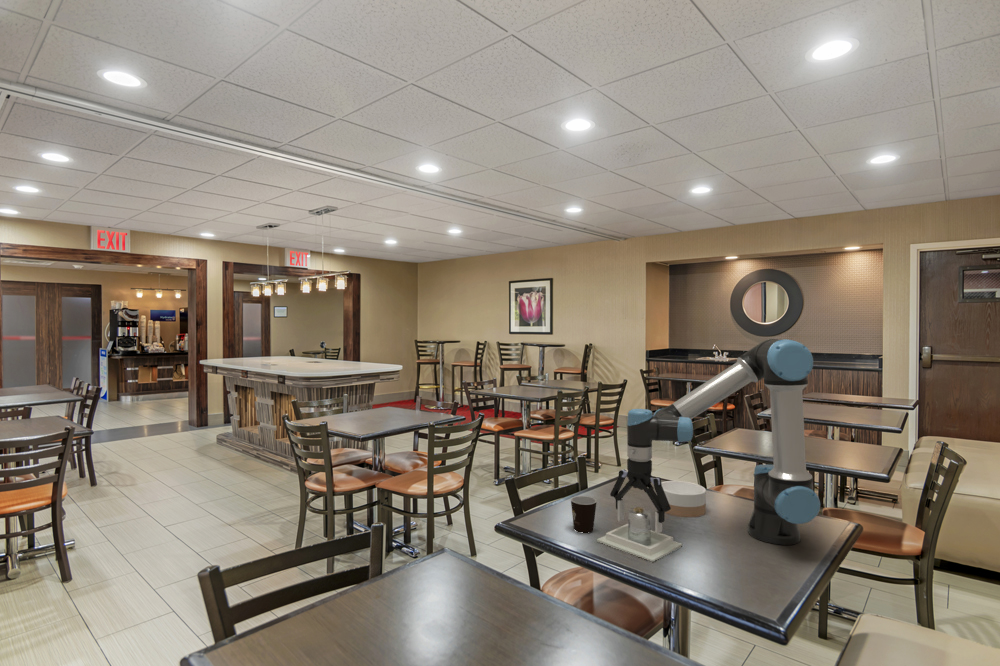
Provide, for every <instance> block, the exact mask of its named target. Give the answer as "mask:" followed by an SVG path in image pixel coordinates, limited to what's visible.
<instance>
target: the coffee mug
mask: <svg viewBox="0 0 1000 666" xmlns="http://www.w3.org/2000/svg"><path fill="white" fill-rule="evenodd" d="M570 506H571V513H572V522H573V530H574V529H575V530H576V531H578V532H583V533H582V534H589V533H588V532H591V533H593V532H594V526H595V518H596V510H597V499H596V498H594V497H591V496H587V495H578V496H573V497H571V498H570ZM575 530H574V531H575ZM576 531H575V532H576ZM592 531H593V532H592ZM578 532H577V533H578Z"/></svg>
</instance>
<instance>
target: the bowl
mask: <svg viewBox="0 0 1000 666" xmlns="http://www.w3.org/2000/svg"><path fill="white" fill-rule="evenodd" d="M661 484H662V487H663V490H664V492H665V495H666V497H667V500H668V502H669V505H670V507H671V510H669V511H667V512H665V514H666V515H670V516H674V517H681V518H699V517H702V516H704V515H705V514H706V511H707V510H706V509H707V489H706V488H705V487H704V486H702V485H701V484H698V483H694V482H690V481H684V480H667V481H661Z"/></svg>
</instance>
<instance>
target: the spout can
mask: <svg viewBox="0 0 1000 666" xmlns="http://www.w3.org/2000/svg"><path fill="white" fill-rule="evenodd" d="M651 511H652V510H649V509H646V508H645V507H641V506H636V507H631V508H629V509H628V510H627V524H628V540H630V541H633V542H636V543H639V544H642V545H645V546H648V545H650V544H651V530H652V512H651Z"/></svg>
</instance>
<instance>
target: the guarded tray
mask: <svg viewBox="0 0 1000 666" xmlns="http://www.w3.org/2000/svg"><path fill="white" fill-rule="evenodd" d="M596 542H597V543H599V542H600V543H599V544H601V543H603V544H602V545H604V544H605V545H604V546H607V545H608V546H607V547H609V546H611V547H610V548H612V547H613V549H614V548H616V549H615V550H617V549H619V550H618V551H620V550H622V551H625V552H628V553H630V554H633V555H636V556H638V557H642V558H644V559H647V560H650V561H655V560H657V559H659V558H661V557H662V556H664V555H666V554H668V553H670V552H671V553H673V552H674V550H675V551H677V550H678V548H679V549H681V548H682V547H683V543H681V542H677V541H675V540H674V537H673V536H670V535H668V534H665V533H662V532H660V533H658V534H657V533H655V530H652V529H651V544H650V545H648V546H645V545H642V544H639V543H636V542H633V541H630V540H628V523H626V524H624V525H622V526H619V527H617V528H615V529H611V530H610V531H607V532H606V533H605V535H603V536H601V537H599V538H597V539H596ZM681 546H682V547H681ZM676 549H677V550H676ZM622 551H621V552H622ZM672 551H673V552H672ZM625 552H624V553H625ZM628 553H627V554H628ZM671 553H670V554H671ZM630 554H629V555H630ZM633 555H632V556H633ZM668 555H669V554H668ZM636 556H635V557H636ZM666 556H667V555H666ZM638 557H637V558H638ZM664 557H665V556H664ZM644 559H643V560H644ZM661 559H662V558H661ZM659 560H660V559H659ZM657 561H658V560H657Z"/></svg>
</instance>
